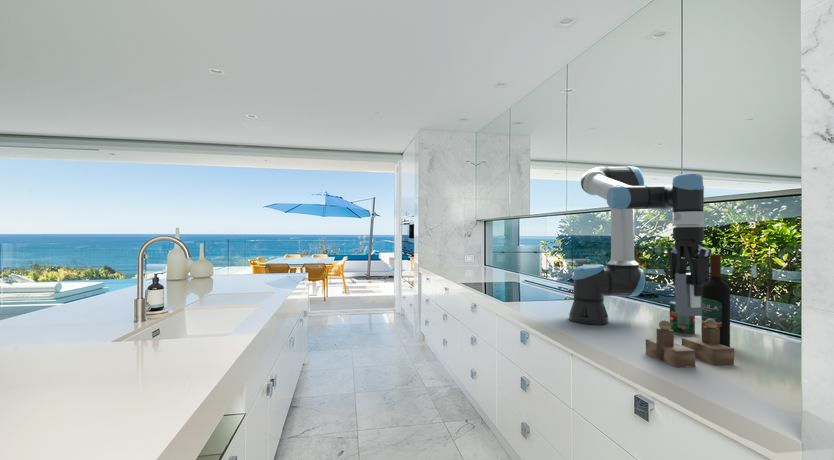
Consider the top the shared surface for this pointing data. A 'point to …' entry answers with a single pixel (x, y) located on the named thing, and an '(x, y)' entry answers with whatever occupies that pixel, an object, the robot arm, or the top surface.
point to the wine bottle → (717, 301)
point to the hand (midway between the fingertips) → (688, 305)
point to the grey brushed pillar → (684, 296)
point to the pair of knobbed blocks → (690, 347)
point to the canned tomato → (681, 322)
